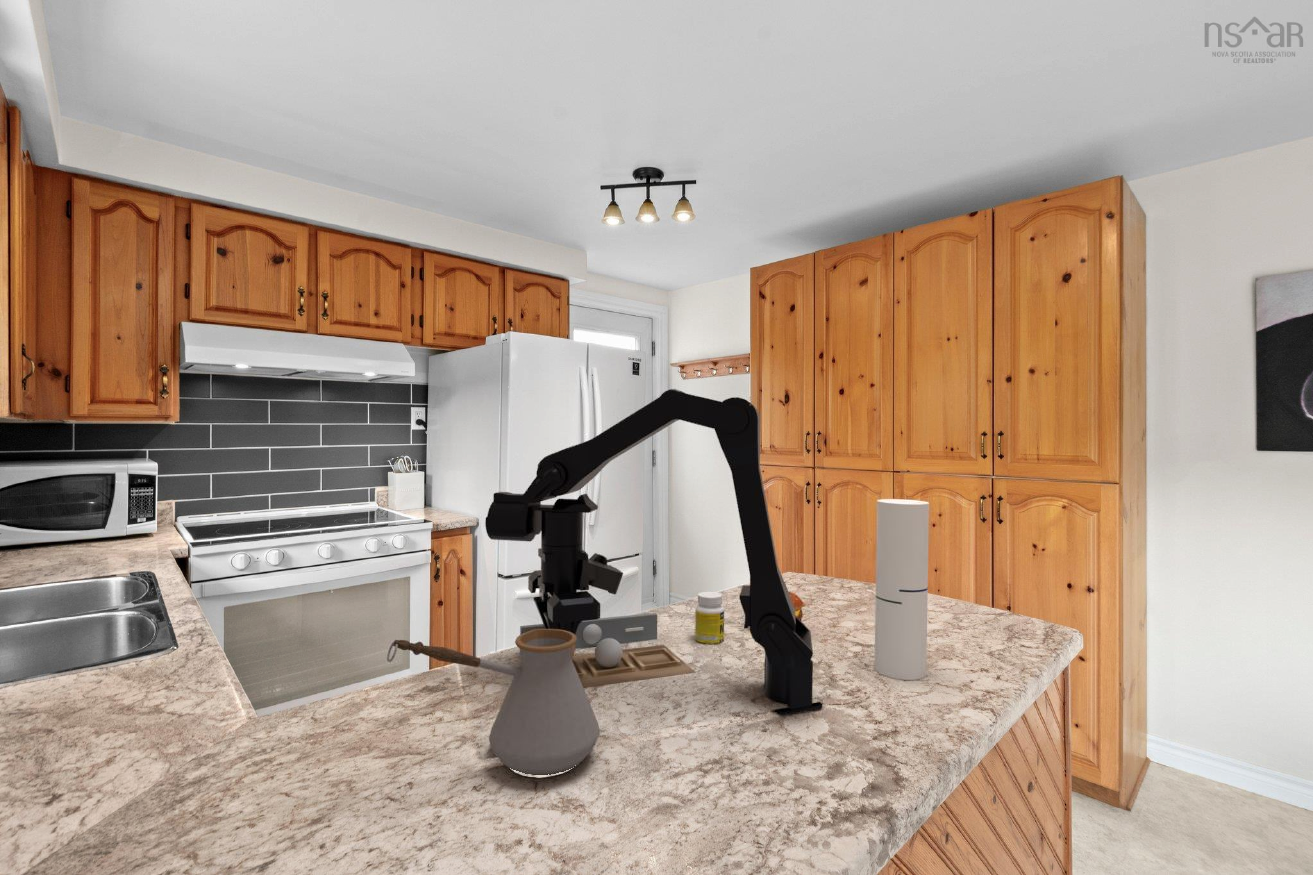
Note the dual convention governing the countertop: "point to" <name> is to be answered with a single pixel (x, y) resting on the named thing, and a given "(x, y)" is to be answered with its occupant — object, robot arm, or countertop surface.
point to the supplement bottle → (709, 619)
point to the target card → (611, 629)
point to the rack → (630, 666)
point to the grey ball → (608, 652)
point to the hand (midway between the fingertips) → (560, 654)
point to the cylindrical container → (901, 588)
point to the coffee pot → (534, 703)
